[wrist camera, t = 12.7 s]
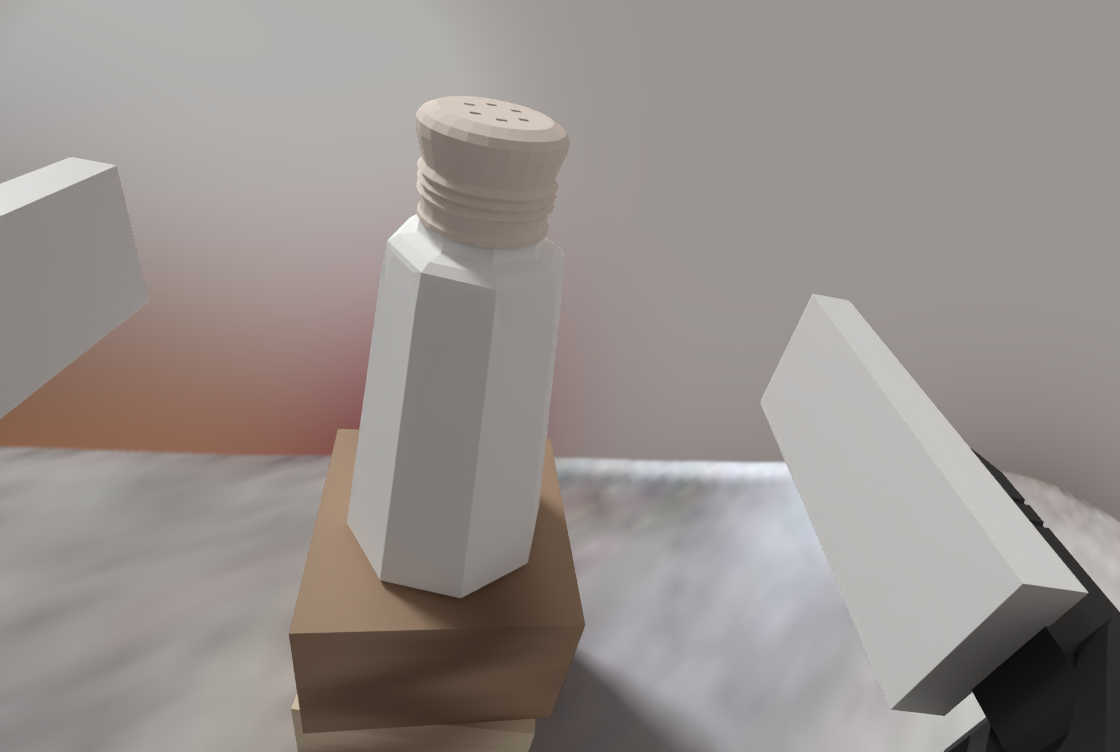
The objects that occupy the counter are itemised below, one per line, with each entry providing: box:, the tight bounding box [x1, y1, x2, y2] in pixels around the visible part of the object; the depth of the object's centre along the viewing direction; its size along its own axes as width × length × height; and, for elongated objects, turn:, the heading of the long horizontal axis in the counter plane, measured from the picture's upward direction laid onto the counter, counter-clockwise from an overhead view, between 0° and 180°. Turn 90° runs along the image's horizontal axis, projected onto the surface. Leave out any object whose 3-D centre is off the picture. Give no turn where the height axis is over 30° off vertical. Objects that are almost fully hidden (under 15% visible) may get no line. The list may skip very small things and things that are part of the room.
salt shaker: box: [347, 96, 570, 598], centre depth 14 cm, size 5×5×11 cm
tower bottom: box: [291, 695, 535, 752], centre depth 21 cm, size 7×7×5 cm
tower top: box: [289, 429, 585, 734], centre depth 18 cm, size 7×7×5 cm
